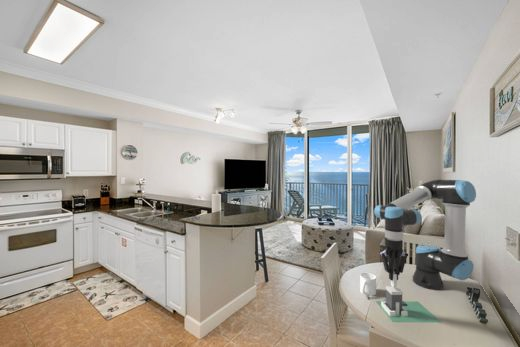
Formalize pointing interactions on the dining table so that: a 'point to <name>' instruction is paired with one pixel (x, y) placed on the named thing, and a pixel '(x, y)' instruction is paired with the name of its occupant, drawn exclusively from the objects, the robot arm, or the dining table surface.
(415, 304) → the board
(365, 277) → the mug
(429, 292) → the dining table surface
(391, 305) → the plug
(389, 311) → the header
